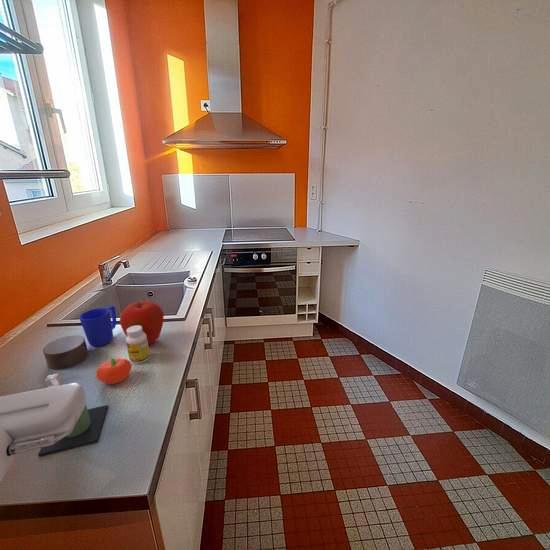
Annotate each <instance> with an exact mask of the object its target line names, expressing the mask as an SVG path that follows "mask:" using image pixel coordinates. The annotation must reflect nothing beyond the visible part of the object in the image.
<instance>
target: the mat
mask: <svg viewBox="0 0 550 550" xmlns="http://www.w3.org/2000/svg"><path fill="white" fill-rule="evenodd" d="M108 408H109V405H108V404H105V405H101V406H95V407H92V408H87V409H88V413H89V416H90V420H91V424H90V426H89V427H88V428H87V430H85V431H84V432H83V433H81V434H79V435H77V436H74V437H69V438H67V437H64V438H62V439H60V440H59V441H56V443H55V444H53V445H51V446H47V447H40V449H39V452H38V453H37V456H38V457H42V456H46V455H50V454H54V453H59V452H63V451H67V450H71V449H75V448H79V447H83V446H87V445H92V444H95V443H98V442H99V439H100V436H101V432H102V429H103V425H104V422H105V418H106V416H107V413H108Z"/></svg>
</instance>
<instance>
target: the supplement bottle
mask: <svg viewBox="0 0 550 550" xmlns="http://www.w3.org/2000/svg"><path fill="white" fill-rule="evenodd" d="M126 331H127V335H128V336H126V338H125V345H126V348H127V354H128V358H129V361H130V363H131V364H134V365H135V364H136V365H138V364H142V363H145V362H147V361H148V360H149V359H150V358H151V352H150V346H149V344H148V341H147V336H146V334H145V333H144V332H143V329H142V326H139V325H135V326H131V327H129V328H128V329H127V330H126Z"/></svg>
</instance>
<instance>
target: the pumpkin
mask: <svg viewBox="0 0 550 550" xmlns="http://www.w3.org/2000/svg"><path fill="white" fill-rule="evenodd" d="M132 367H133V363H131V362H130V359H129V360H128V359H127V358H120V357H119V358H110V359H109V360H107V361H105V362H104V363H102V364H101V365H99V366H98V368H96V369H97V370H96V372H95V374H96V378H97V380H98V381H100V383H103V384H107V385H113V384H118V383H121V382H123V381H124V380H125V379H126V378H127V377H129V375H130V373H131V371H132Z"/></svg>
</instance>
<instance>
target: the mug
mask: <svg viewBox="0 0 550 550" xmlns="http://www.w3.org/2000/svg"><path fill="white" fill-rule="evenodd" d="M78 319H79V321H80V324H81V326H82V329H83V332H84V335H85V337H86V340H87V342H88V344H89V345H90V346H92V347H102V346H105V345H107V344H110V343H111V341H112V340H113V338H114V332H113V330H114V329H115V328H116V326H117V312H116V307H115V305H110V306H108V307H100V308H99V307H97V308H93V309H89V310H87V311H85V312H83V313H81V314H80V315H79V318H78Z"/></svg>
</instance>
